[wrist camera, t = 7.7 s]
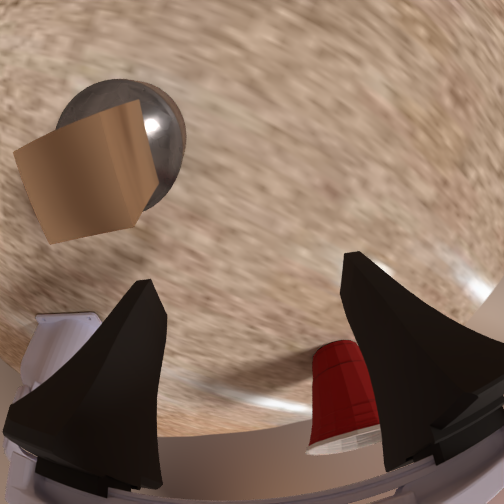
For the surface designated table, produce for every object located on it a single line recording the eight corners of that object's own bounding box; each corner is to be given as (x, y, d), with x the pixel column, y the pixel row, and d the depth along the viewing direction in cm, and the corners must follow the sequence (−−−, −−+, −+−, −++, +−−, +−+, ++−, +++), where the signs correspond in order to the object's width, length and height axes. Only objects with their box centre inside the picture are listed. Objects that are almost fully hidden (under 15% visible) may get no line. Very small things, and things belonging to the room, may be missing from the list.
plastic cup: (273, 372, 32) (284, 464, 22) (325, 317, 27) (358, 429, 17) (340, 380, 35) (359, 456, 26) (393, 334, 30) (428, 419, 20)
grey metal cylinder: (94, 206, 19) (78, 226, 16) (64, 101, 14) (40, 108, 11) (200, 184, 19) (195, 203, 16) (178, 63, 14) (167, 60, 11)
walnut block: (87, 199, 15) (49, 244, 11) (64, 125, 12) (12, 152, 8) (159, 182, 15) (133, 227, 11) (139, 98, 12) (99, 112, 8)
